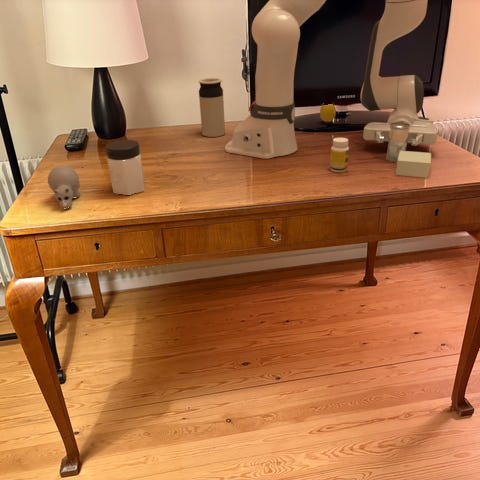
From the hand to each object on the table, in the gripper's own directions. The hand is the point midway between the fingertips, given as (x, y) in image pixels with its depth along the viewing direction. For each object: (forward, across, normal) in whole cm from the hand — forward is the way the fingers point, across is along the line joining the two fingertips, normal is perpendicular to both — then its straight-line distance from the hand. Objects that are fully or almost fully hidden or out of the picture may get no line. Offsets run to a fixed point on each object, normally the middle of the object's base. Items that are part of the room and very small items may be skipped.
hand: (397, 141), depth 128 cm
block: (+7, +5, +6) cm, 10 cm away
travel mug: (-11, -61, +6) cm, 62 cm away
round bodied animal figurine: (+50, -74, +6) cm, 90 cm away
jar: (+39, -63, +6) cm, 74 cm away
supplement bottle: (+11, -14, +6) cm, 19 cm away
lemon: (-33, -26, +6) cm, 42 cm away
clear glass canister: (-1, 0, +6) cm, 6 cm away
